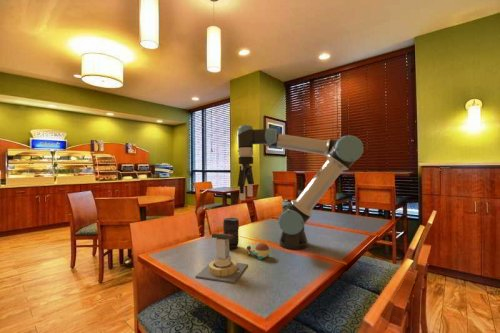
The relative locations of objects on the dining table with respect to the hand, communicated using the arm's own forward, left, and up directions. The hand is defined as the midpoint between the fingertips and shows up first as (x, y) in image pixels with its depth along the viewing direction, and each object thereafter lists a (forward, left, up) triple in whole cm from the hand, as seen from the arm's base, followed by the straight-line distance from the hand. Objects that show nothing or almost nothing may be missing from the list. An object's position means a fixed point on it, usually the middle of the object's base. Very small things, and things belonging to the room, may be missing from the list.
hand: (246, 198), depth 119 cm
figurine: (-8, +7, -27) cm, 29 cm away
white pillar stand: (+2, +25, -26) cm, 36 cm away
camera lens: (+9, -1, -27) cm, 28 cm away
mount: (+2, +26, -27) cm, 37 cm away
